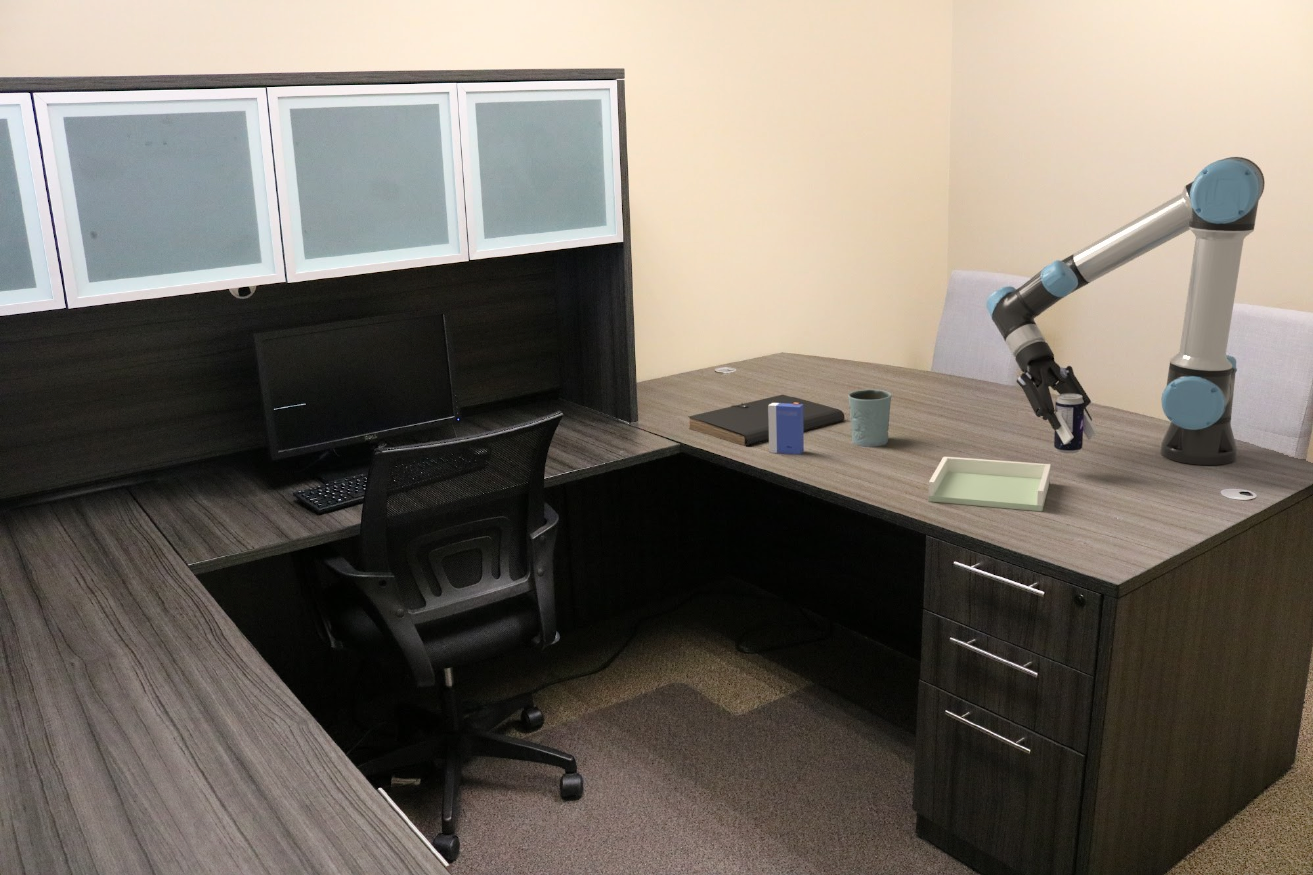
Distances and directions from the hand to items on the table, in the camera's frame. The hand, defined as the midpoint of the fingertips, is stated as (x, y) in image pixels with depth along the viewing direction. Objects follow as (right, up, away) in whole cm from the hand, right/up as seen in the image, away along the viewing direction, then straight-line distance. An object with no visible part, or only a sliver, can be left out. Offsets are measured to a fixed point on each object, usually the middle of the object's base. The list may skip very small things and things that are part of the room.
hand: (1080, 438), depth 228 cm
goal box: (-20, -11, -3) cm, 23 cm away
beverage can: (-1, -3, +4) cm, 5 cm away
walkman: (-58, -3, +32) cm, 66 cm away
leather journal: (-60, +3, +56) cm, 82 cm away
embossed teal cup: (-37, -1, +36) cm, 52 cm away
